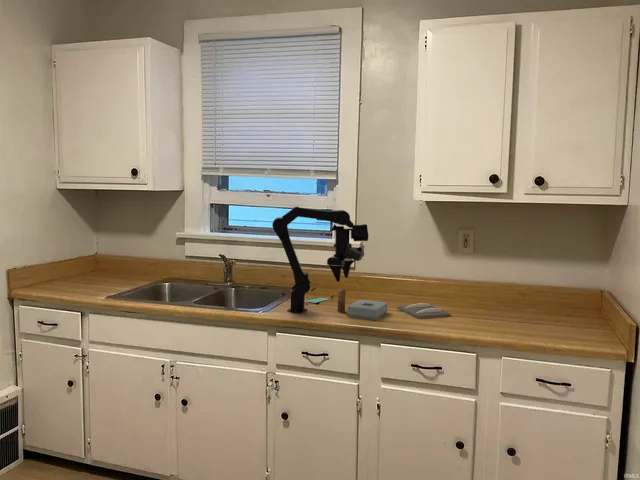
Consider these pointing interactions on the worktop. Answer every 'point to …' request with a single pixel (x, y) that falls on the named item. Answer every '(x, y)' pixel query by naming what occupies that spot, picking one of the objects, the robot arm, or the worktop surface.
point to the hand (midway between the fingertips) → (342, 279)
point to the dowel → (341, 300)
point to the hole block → (367, 309)
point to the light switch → (423, 311)
